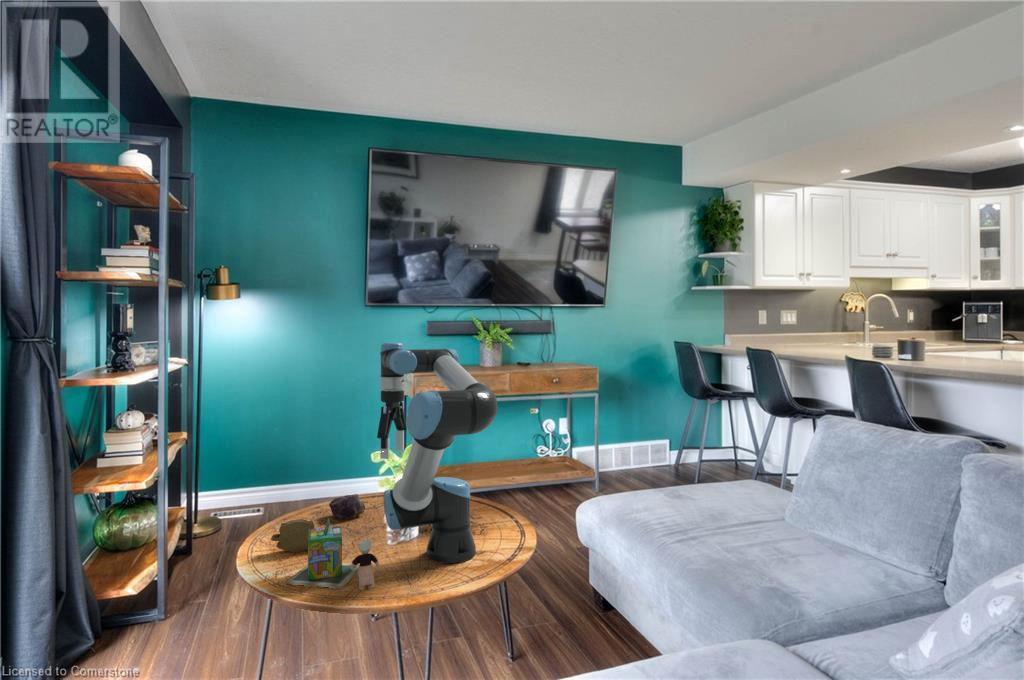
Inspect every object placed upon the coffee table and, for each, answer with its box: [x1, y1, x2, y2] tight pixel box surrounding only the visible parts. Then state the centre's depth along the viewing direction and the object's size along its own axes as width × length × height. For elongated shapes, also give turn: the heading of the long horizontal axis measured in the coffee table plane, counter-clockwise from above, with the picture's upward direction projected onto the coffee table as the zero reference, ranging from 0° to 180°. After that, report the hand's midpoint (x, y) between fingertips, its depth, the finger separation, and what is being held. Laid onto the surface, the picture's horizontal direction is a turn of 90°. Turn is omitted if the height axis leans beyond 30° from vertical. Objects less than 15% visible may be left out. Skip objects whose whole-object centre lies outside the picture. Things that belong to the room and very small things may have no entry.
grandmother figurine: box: [350, 539, 381, 591], centre depth 155 cm, size 8×4×13 cm, turn 118°
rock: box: [328, 493, 366, 520], centre depth 212 cm, size 12×9×10 cm
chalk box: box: [307, 518, 343, 581], centre depth 162 cm, size 9×9×15 cm
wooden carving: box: [270, 518, 315, 553], centre depth 181 cm, size 16×5×10 cm, turn 109°
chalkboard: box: [285, 562, 360, 590], centre depth 162 cm, size 16×14×1 cm
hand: (392, 454), depth 189 cm, fingers open, 13 cm apart
